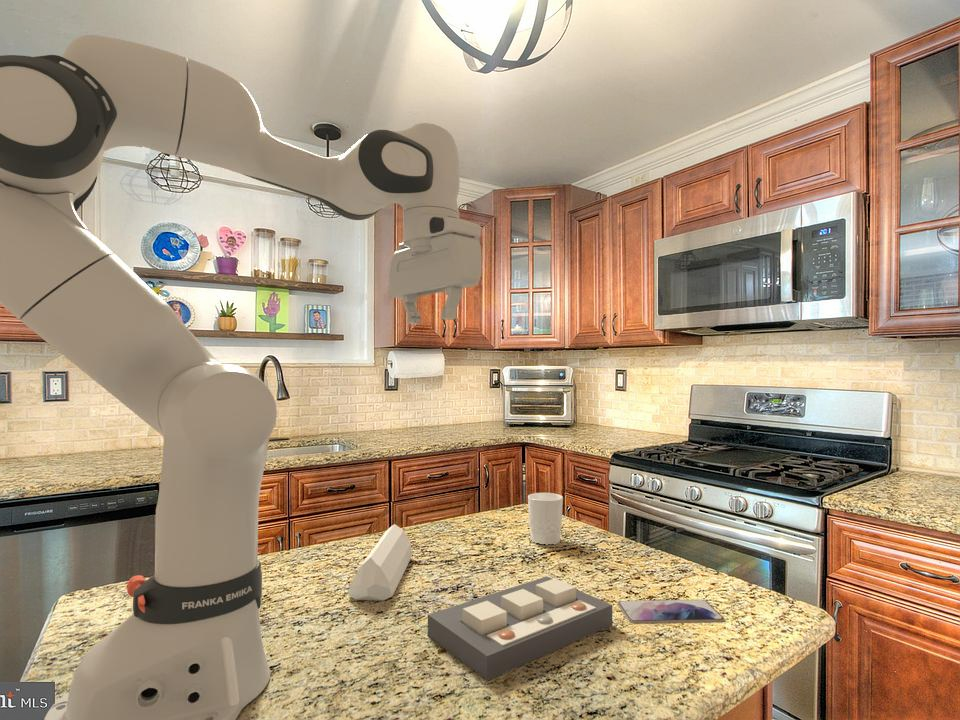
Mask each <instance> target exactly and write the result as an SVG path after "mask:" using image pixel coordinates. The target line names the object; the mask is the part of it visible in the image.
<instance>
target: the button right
mask: <svg viewBox="0 0 960 720" xmlns="http://www.w3.org/2000/svg"><path fill="white" fill-rule="evenodd" d="M576 587H577V586H574V585H571V584H570V583H567V582H565V581H563V580H560V579H558V578H552V580H549V581H546V582H543V583H540V584H537V585H536V595H537V596H539V597H541V598H543V602H545V603H547V604H549V605H551V606H553V607H559V606H561V605H564V604H567V603H569V602H572V601H575V600H576V589H577V588H576Z"/></svg>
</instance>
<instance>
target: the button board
mask: <svg viewBox="0 0 960 720" xmlns="http://www.w3.org/2000/svg"><path fill="white" fill-rule="evenodd" d="M552 579H553V578H552V577H549V576H543V577H541V578H538V579H533V580H532V581H528V582H524V583H522V584H518V585H515V586H513V587H510V588H506V589H503V590H500V591H497V592H494V593H491V594H488V595H485V596H484V595H483V596H482V597H478V598H474V599H472V600H469V601H466V602H463V603H460V604H459V603H458V604H456V605H453V606H450V607H447V608H445V609H441V610H438V611H435V612H431V613H428V614H427V637H429V638H430V639H432V640H433V641H434V642H436V643H437V644H438V645H439V646H441V647H442V648H443V649H445V650H446V651H447V652H449V653H450V654H452V656H454V657H455V658H456V659H458V660H459V661H460V662H461V663H463V664H465V665H466V666H467V667H468V668H470V669H471V671H474V672H475V673H476V674H477V675H479V677H482V678H483V679H484V680H485V681H491V680H492V679H494V678H496V677H499V676H501V675H503V674H506V673H508V672H510V671H512V670H516V668H519V667H522V666H524V665H526V664H528V663H530V662H532V661H535V660H537V659H539V658H541V657H544V656H546V655H548V654H551V653H553V652H554V651H557V650H559V649H561V648H563V647H566V646H569V645H571V644H573V643H575V642H577V641H579V640H582V639H584V638H587V637H588V636H591V635H593V634H596V633H598V632H600V631H602V630H604V629H607V628H609V627H611V626H613V604H611V603H608V602H606V601H605V600H601V599H599V598H597V597H595V596H592V594H588V593H586V592H583V591H581V590H580V589H577V588H576V600H575V601H572V602H569V603H567V604H564V605H561V606H559V607H553V606H551V605H549V604H547V603H545V602H543V613H540V614H537V615H535V616H532V617H529V618H527V619H524V620H521V621H520V620H518V619H516V618H515V617H513V616H511V615H509V614H508V613H507V626H505V627H503V628H500V629H497V630H495V631H492V632H489V633H487V634H484V635H479V634H478V633H476V632H475V631H473V630H472V629H470V628H469V627H467V626H466V625H464V624H463V608H466V607H469V606H473V605H476V604H479V603H482V602H485V601H489V602H491V603H492V604H494V605H496V606H498V607H499V608H501V596H503V595H506V594H509V593H512V592H515V591H518V590H521V589H524V590H526V591H529V592H531V593H533V594H535V595H536V585H537V584H540V583H543V582H546V581H549V580H552Z"/></svg>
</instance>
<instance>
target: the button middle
mask: <svg viewBox="0 0 960 720" xmlns="http://www.w3.org/2000/svg"><path fill="white" fill-rule="evenodd" d="M501 609H503V610H505V611H507V613H508V614H509V615H511V616H513V617H515V618H516V619H518V620H520V621H521V620H524V619H527V618H529V617H532V616H535V615H537V614H540V613H543V598H541V597H539V596H537V595H535V594H533V593H531V592H529V591H526V590H524V589H521V590H518V591H515V592H512V593H509V594H506V595H503V596H501Z"/></svg>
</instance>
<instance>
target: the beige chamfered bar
mask: <svg viewBox="0 0 960 720" xmlns="http://www.w3.org/2000/svg"><path fill="white" fill-rule="evenodd" d="M412 551H413V550H412V543H411V541H410V540H409V538H408V536H407V534H406V532H405V530H404V529H402V528H401V527H399V526H398V525H397V524H395V523H394V524H392V525H391V526H390V527H389V528H388V529H386V530H385V532H384V534H383V535H382V536H381V538H380V539H379V540H378V542H376V544H375V545H374V547H373V549H371V551H370V552H369V554H368V555H367V556H366V558H365V559H364V561H363V562H362V563H361V564H360V566H359V568H358V570H357V571H356V573H355V575H354V576H353V578H352V580H351V582H350V583H349V584H350V585H349V588H348V589H349V590H348V596H349V597H350V598H352V599H354V600H356V601H385V600H387V599H390V598H392V597H393V596H394V593H395V591H396V590H397V587H398V585H399V584H400V582H401V579H402V577H403V575H404V573H405V572H406V569H407V568H408V565H409V563H410V561H411V559H412V557H413V552H412Z"/></svg>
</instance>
